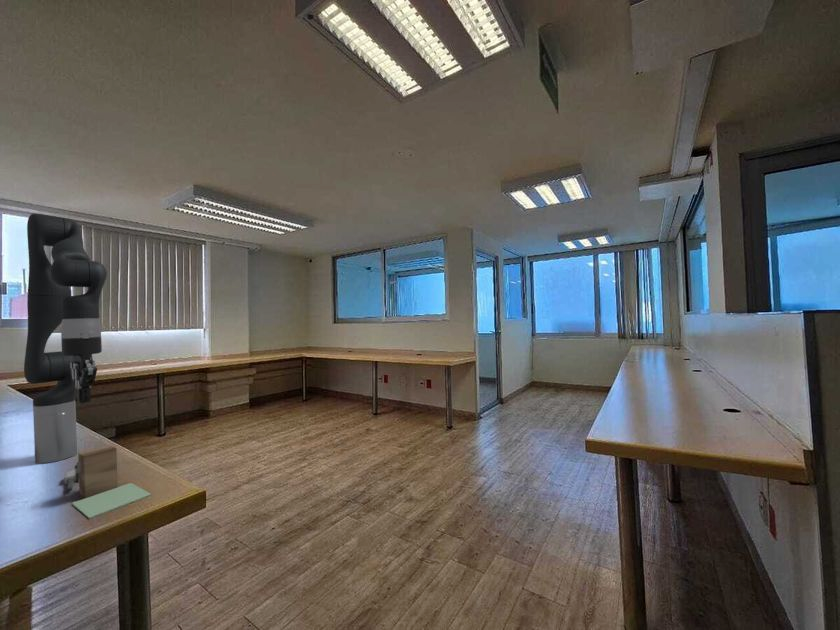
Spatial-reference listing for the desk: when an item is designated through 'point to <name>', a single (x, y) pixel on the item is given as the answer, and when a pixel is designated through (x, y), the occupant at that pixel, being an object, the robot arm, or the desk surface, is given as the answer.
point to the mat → (110, 500)
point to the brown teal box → (97, 471)
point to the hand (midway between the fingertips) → (84, 402)
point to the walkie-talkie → (72, 477)
